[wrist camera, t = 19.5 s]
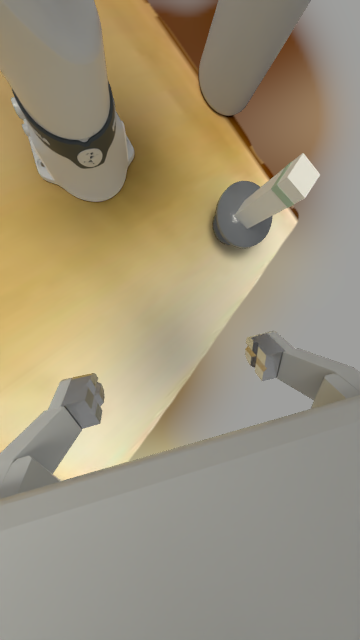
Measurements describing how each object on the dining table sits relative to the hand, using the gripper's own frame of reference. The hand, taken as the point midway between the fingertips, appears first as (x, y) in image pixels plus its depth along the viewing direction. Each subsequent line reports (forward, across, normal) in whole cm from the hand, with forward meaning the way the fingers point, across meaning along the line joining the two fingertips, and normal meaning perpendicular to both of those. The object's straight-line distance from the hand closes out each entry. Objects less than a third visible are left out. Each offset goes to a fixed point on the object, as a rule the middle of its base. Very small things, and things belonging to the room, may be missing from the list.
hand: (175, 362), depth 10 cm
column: (+34, -22, -3) cm, 41 cm away
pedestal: (+41, -22, 0) cm, 46 cm away
